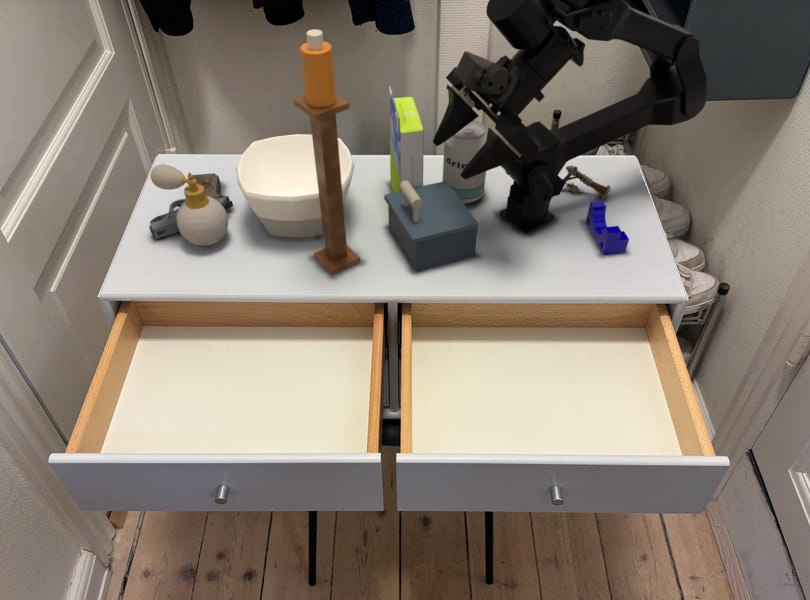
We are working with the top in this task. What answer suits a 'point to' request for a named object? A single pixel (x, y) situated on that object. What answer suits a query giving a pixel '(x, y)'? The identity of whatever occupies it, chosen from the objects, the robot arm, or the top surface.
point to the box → (405, 143)
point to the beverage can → (464, 161)
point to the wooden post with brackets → (586, 180)
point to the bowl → (287, 183)
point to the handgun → (168, 221)
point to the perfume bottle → (193, 207)
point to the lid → (429, 211)
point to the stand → (329, 184)
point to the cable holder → (605, 230)
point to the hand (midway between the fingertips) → (448, 160)
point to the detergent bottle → (318, 70)
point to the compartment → (434, 246)
